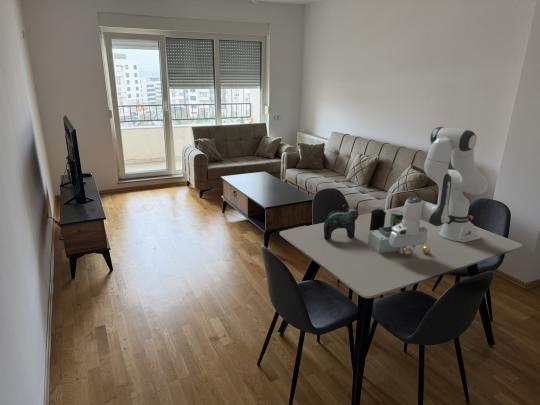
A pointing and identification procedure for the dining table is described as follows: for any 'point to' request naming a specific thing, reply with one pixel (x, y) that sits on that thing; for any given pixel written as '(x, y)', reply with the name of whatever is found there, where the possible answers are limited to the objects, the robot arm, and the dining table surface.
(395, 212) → the canned tomato
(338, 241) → the dining table surface
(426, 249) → the bead
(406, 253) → the bead
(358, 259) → the dining table surface
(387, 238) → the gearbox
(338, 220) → the dark green animal figurine
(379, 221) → the aerosol can
